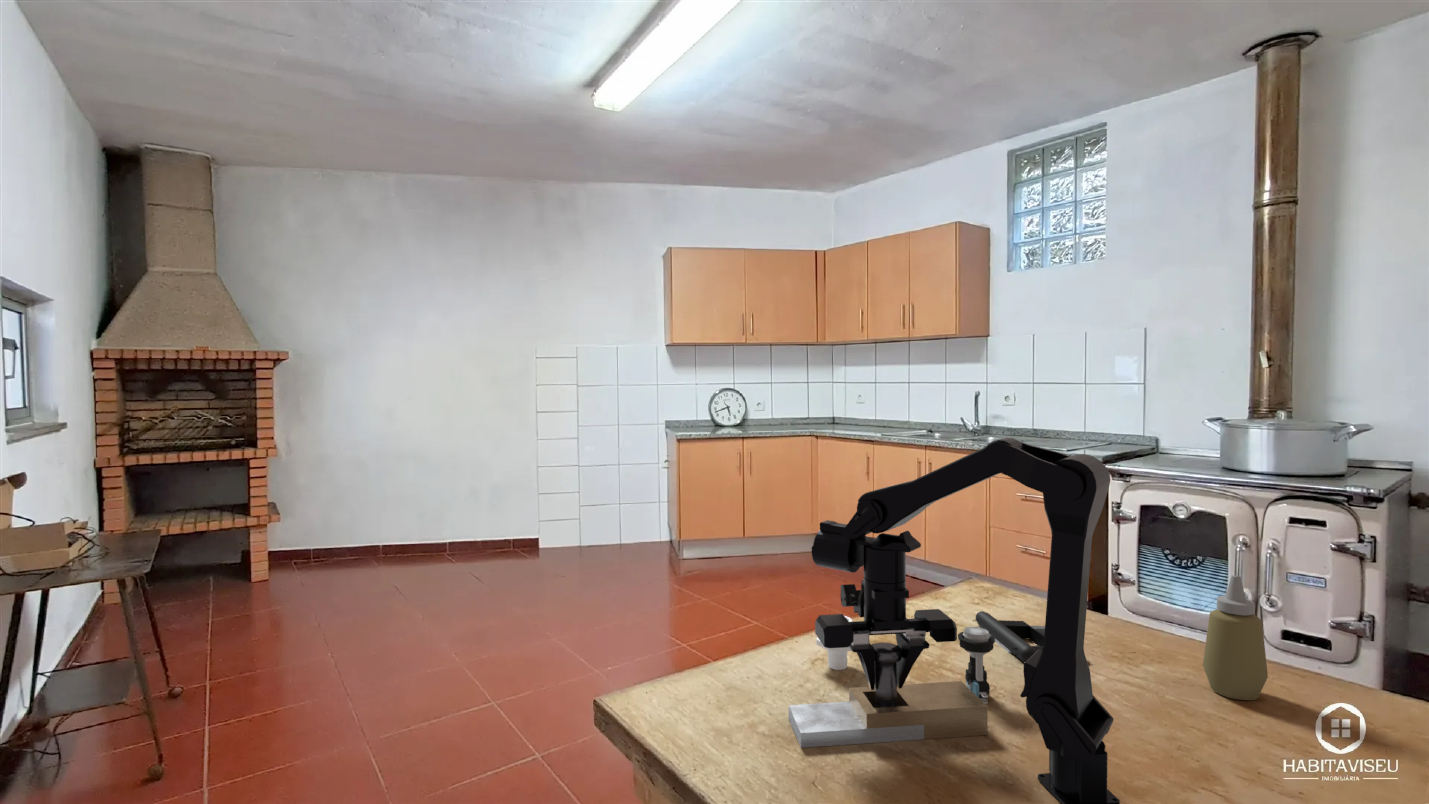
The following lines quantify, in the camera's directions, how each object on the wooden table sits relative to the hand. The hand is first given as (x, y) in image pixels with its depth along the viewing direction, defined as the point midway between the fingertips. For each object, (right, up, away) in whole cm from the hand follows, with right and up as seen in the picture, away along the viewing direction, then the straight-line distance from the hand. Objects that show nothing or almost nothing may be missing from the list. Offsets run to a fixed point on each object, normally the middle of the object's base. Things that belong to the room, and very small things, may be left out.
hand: (885, 688), depth 99 cm
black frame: (+34, -5, +30) cm, 46 cm away
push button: (+16, -5, +9) cm, 19 cm away
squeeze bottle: (+55, -5, +9) cm, 56 cm away
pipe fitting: (-3, -5, +21) cm, 22 cm away
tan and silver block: (0, -6, 0) cm, 6 cm away
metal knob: (0, -6, 0) cm, 6 cm away
